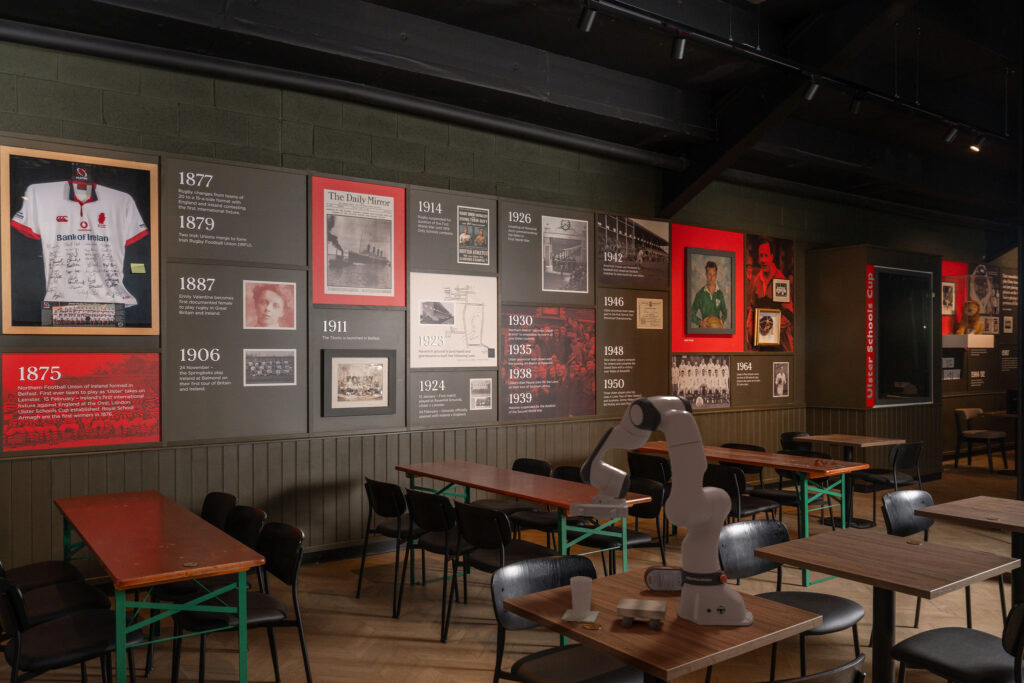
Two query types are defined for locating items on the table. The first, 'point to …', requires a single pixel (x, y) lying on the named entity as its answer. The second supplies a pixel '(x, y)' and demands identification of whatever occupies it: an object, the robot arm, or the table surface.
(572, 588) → the cup
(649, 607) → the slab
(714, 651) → the table surface
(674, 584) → the tin
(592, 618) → the pad
